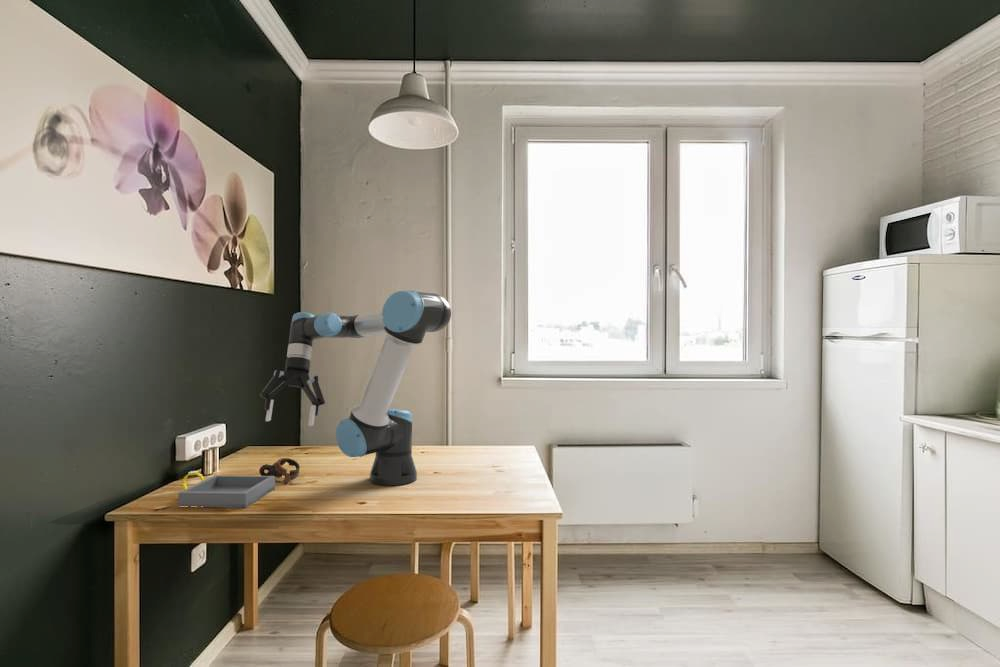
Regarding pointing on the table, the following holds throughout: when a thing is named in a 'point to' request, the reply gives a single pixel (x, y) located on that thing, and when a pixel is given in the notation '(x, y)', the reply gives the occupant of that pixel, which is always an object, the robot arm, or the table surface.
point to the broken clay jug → (281, 469)
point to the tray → (227, 491)
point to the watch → (192, 474)
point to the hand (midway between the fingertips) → (289, 423)
